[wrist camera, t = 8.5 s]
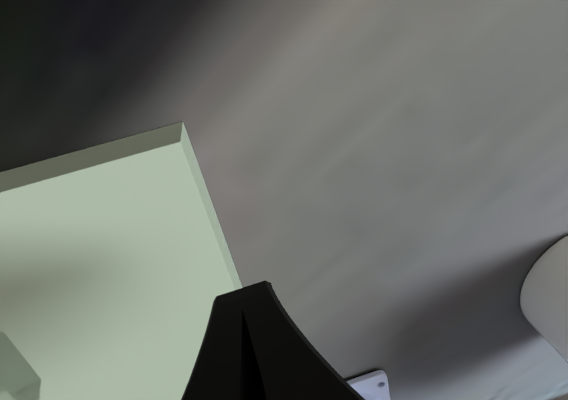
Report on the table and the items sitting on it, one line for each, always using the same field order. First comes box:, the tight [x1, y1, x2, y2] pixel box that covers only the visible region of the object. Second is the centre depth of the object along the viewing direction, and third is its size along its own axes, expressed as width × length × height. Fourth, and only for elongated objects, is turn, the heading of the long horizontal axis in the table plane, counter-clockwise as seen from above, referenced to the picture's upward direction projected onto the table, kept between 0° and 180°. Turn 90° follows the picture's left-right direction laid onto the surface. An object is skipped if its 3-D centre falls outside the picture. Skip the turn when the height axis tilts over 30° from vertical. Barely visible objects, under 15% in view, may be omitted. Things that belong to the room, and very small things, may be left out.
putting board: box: [0, 122, 242, 400], centre depth 17 cm, size 14×20×3 cm
